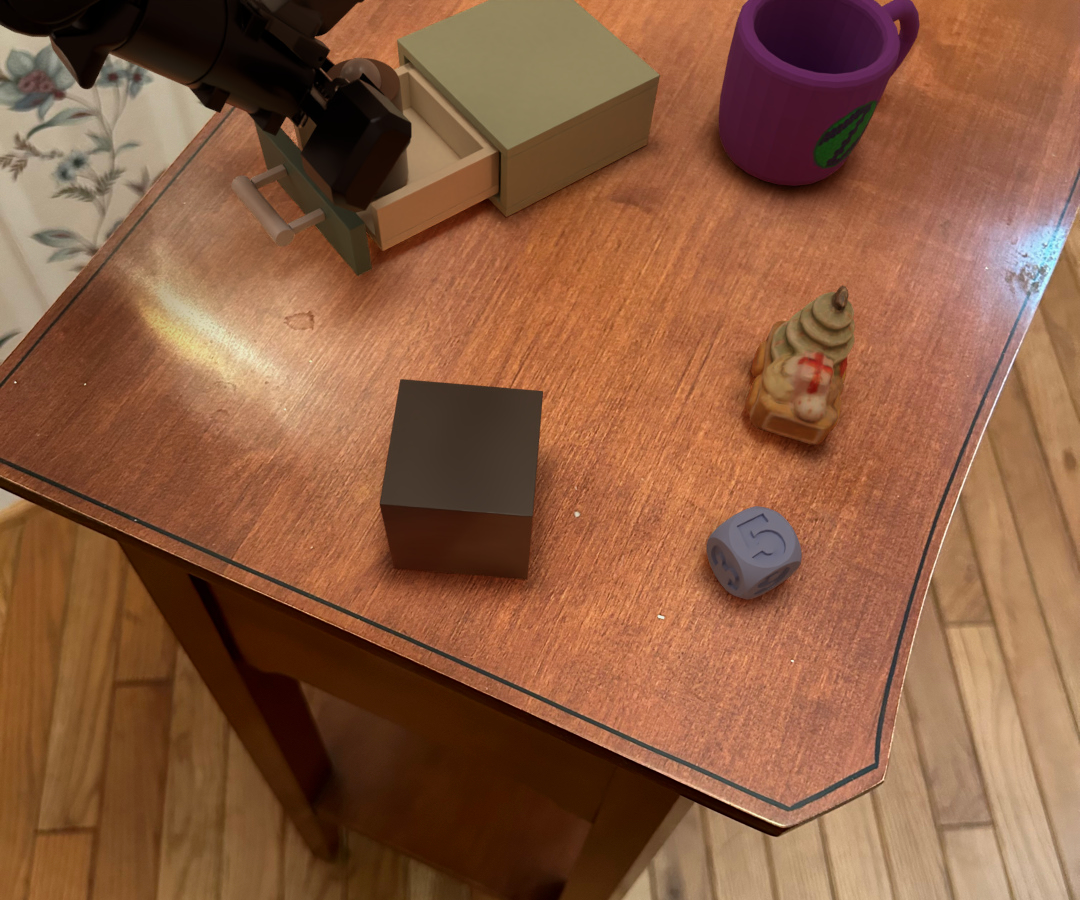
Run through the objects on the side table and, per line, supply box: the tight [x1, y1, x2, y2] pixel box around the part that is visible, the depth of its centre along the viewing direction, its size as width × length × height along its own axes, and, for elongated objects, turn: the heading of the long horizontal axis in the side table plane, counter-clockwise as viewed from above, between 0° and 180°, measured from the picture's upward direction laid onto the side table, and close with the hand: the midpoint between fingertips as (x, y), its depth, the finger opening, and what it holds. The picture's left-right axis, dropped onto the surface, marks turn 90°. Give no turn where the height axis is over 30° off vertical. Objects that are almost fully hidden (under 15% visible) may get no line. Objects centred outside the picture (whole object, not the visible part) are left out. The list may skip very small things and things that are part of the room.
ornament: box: [745, 285, 856, 446], centre depth 58 cm, size 8×6×10 cm
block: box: [378, 378, 544, 580], centre depth 54 cm, size 8×8×8 cm
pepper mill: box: [325, 57, 408, 197], centre depth 63 cm, size 5×5×9 cm
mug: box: [718, 0, 921, 187], centre depth 70 cm, size 17×11×10 cm, turn 124°
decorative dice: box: [705, 505, 803, 600], centre depth 55 cm, size 4×4×4 cm
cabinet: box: [396, 0, 661, 218], centre depth 71 cm, size 14×14×6 cm
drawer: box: [230, 62, 499, 277], centre depth 66 cm, size 16×12×4 cm
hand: (384, 123), depth 64 cm, fingers closed on pepper mill, 5 cm apart
